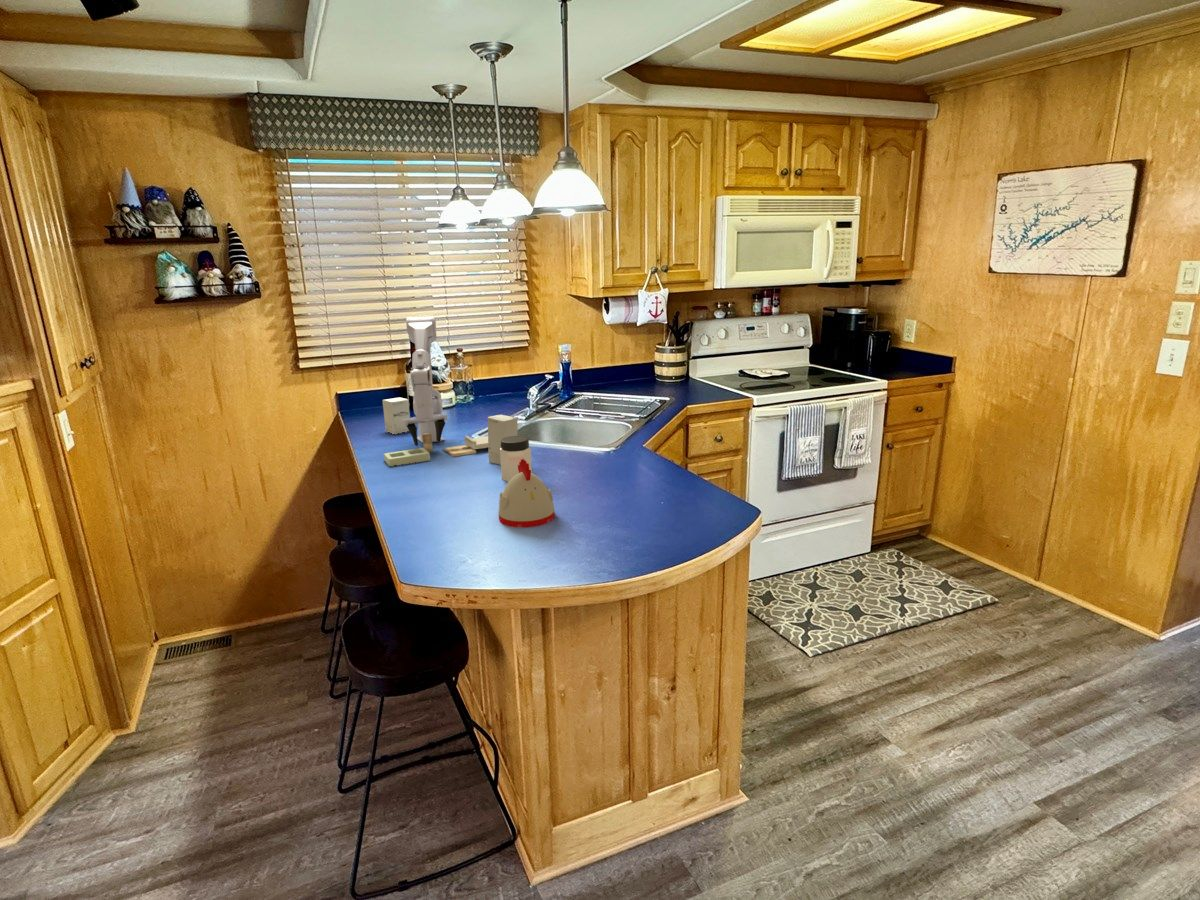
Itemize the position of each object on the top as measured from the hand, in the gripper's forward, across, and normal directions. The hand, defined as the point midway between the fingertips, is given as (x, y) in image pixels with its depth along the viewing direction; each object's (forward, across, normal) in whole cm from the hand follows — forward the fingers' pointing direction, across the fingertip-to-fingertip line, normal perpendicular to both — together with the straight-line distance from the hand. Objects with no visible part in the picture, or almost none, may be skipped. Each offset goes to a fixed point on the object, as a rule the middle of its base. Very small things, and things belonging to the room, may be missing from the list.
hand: (427, 443), depth 237 cm
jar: (+3, +14, -45) cm, 48 cm away
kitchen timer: (+3, +4, -76) cm, 77 cm away
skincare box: (+3, +17, -27) cm, 32 cm away
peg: (+3, 0, 0) cm, 3 cm away
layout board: (+3, +9, -7) cm, 12 cm away
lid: (+1, +16, -7) cm, 18 cm away
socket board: (+3, -9, -7) cm, 12 cm away
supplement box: (+3, -2, +35) cm, 35 cm away
